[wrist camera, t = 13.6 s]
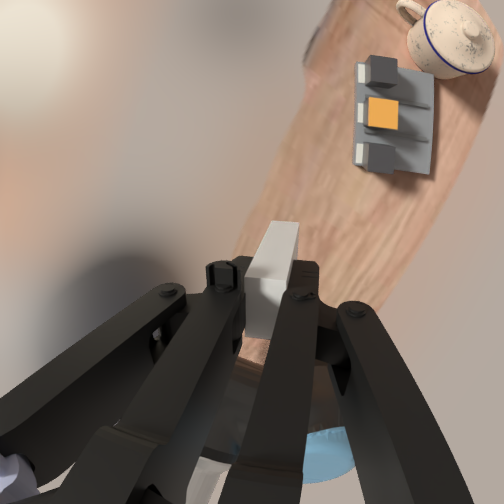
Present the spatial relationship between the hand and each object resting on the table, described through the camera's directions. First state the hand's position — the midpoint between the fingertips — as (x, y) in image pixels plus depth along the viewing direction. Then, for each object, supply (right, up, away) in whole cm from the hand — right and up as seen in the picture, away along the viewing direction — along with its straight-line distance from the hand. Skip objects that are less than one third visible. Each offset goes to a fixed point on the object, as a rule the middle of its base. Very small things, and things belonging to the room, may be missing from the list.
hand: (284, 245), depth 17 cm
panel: (+16, +16, +16) cm, 28 cm away
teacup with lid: (+21, +27, +11) cm, 36 cm away
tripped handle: (+13, +16, +15) cm, 25 cm away
